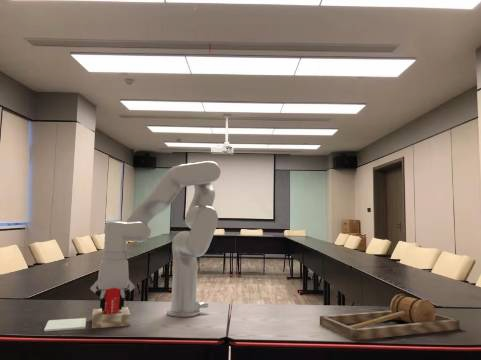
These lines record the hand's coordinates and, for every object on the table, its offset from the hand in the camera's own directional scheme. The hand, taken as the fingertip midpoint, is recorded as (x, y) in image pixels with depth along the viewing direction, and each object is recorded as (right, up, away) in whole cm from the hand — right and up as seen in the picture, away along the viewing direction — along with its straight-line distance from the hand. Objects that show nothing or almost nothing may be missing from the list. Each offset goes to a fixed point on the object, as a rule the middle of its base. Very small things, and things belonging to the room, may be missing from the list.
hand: (111, 308), depth 130 cm
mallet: (+95, -7, +1) cm, 96 cm away
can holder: (0, -4, -1) cm, 5 cm away
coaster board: (-13, -4, -6) cm, 15 cm away
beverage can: (0, -5, 0) cm, 5 cm away
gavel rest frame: (+97, -7, +2) cm, 98 cm away
